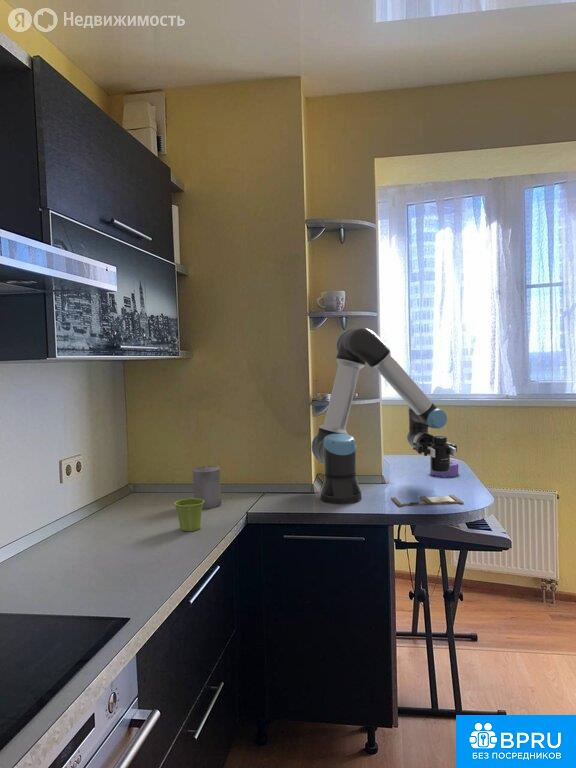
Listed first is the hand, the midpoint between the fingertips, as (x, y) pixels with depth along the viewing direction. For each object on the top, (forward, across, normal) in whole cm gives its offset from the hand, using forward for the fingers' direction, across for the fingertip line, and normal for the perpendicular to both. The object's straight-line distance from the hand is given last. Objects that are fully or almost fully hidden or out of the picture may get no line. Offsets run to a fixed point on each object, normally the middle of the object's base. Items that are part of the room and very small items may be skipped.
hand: (444, 453), depth 203 cm
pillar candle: (-12, +84, -18) cm, 87 cm away
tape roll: (-48, -15, -18) cm, 54 cm away
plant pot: (+16, +87, -18) cm, 90 cm away
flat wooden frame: (-5, +6, -18) cm, 19 cm away
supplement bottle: (-5, 0, -7) cm, 9 cm away
